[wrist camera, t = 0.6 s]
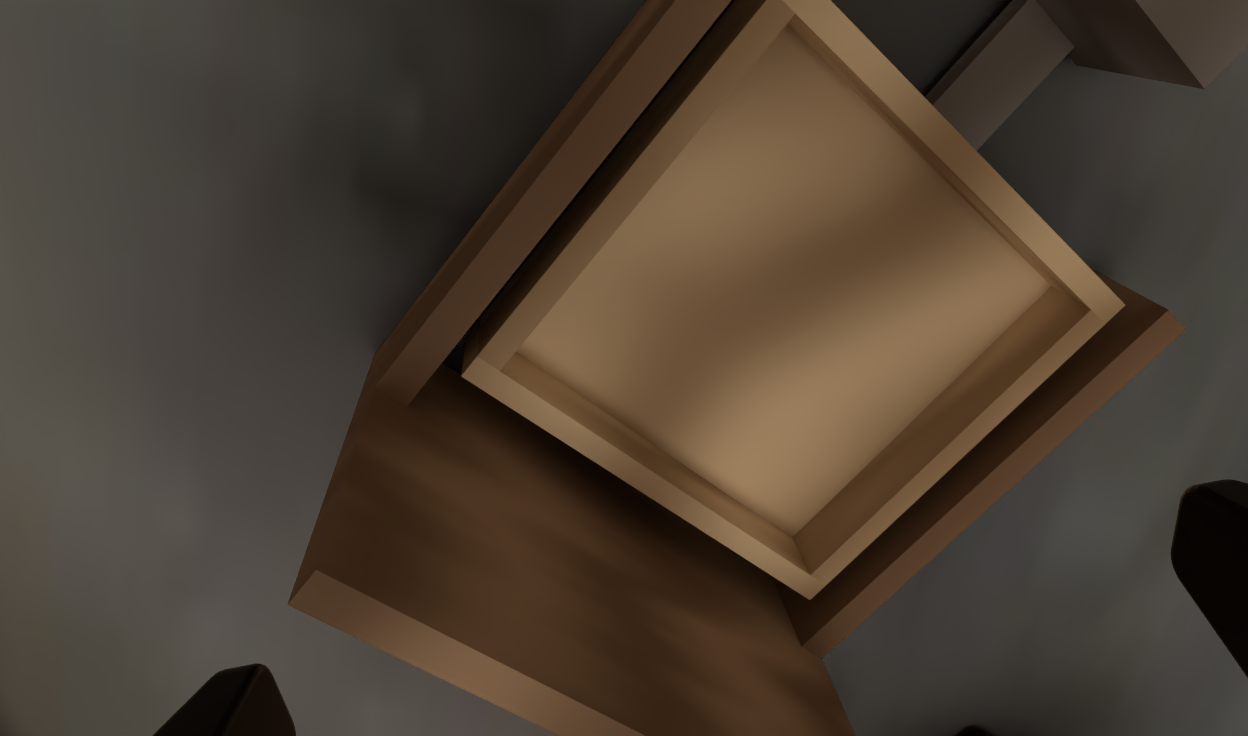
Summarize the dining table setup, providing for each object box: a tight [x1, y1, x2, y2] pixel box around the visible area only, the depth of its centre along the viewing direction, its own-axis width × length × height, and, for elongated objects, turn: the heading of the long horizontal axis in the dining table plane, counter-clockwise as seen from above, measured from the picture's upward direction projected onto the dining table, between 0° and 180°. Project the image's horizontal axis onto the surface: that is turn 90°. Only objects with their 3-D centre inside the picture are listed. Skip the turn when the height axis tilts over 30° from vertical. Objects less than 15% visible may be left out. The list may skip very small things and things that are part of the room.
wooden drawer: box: [461, 0, 1248, 600], centre depth 18 cm, size 11×17×4 cm, turn 140°
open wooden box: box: [288, 0, 1186, 736], centre depth 18 cm, size 14×13×9 cm
